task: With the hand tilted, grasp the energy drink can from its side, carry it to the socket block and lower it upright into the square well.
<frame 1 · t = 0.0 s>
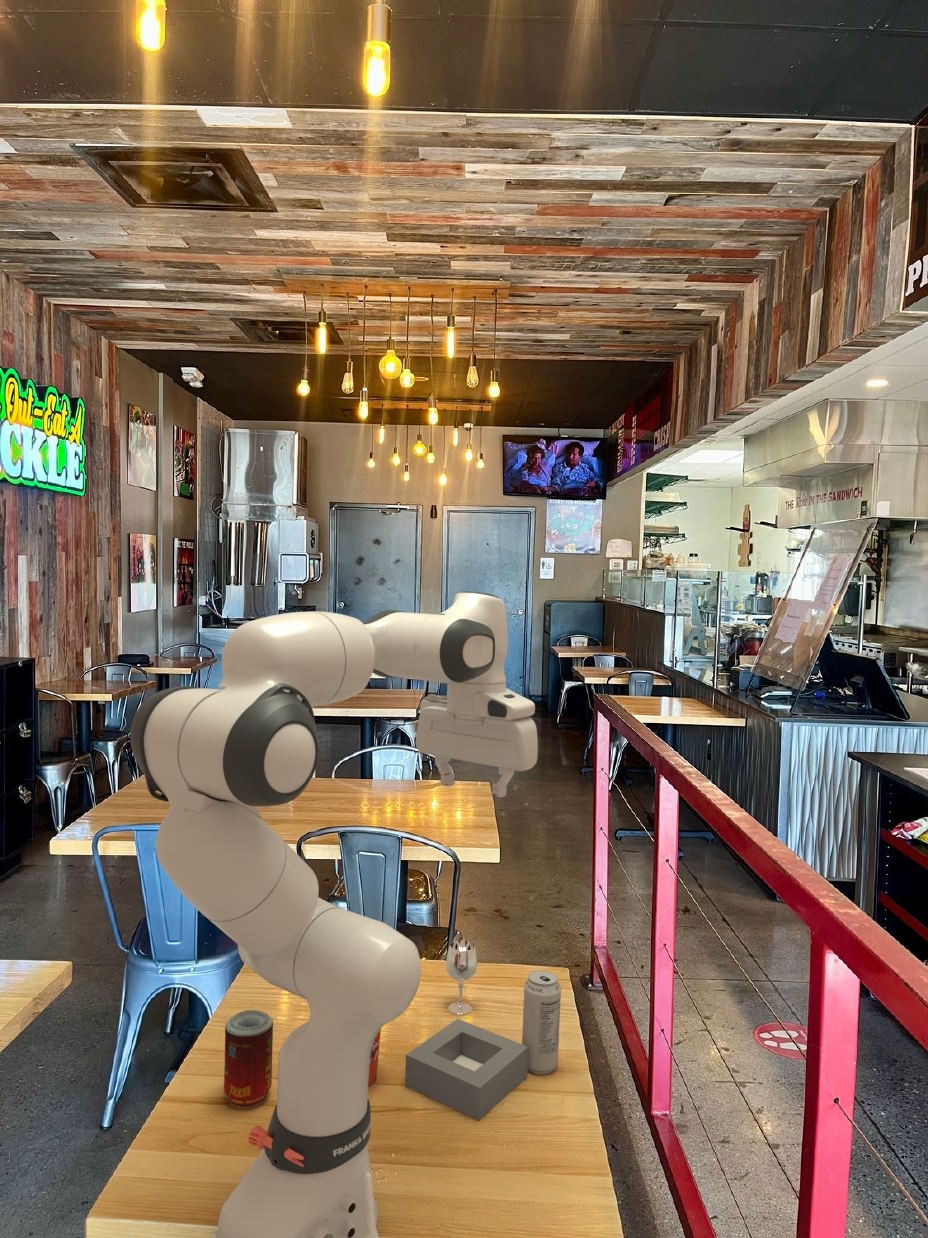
hand: (472, 790, 127), 48 cm above the table, tool pointing down, fingers open, 8 cm apart
energy drink can: (539, 1067, 139), on the table
socket block: (466, 1081, 134), on the table
paper cup: (358, 1079, 134), on the table
soda can: (247, 1098, 128), on the table
wineglass: (460, 1009, 157), on the table
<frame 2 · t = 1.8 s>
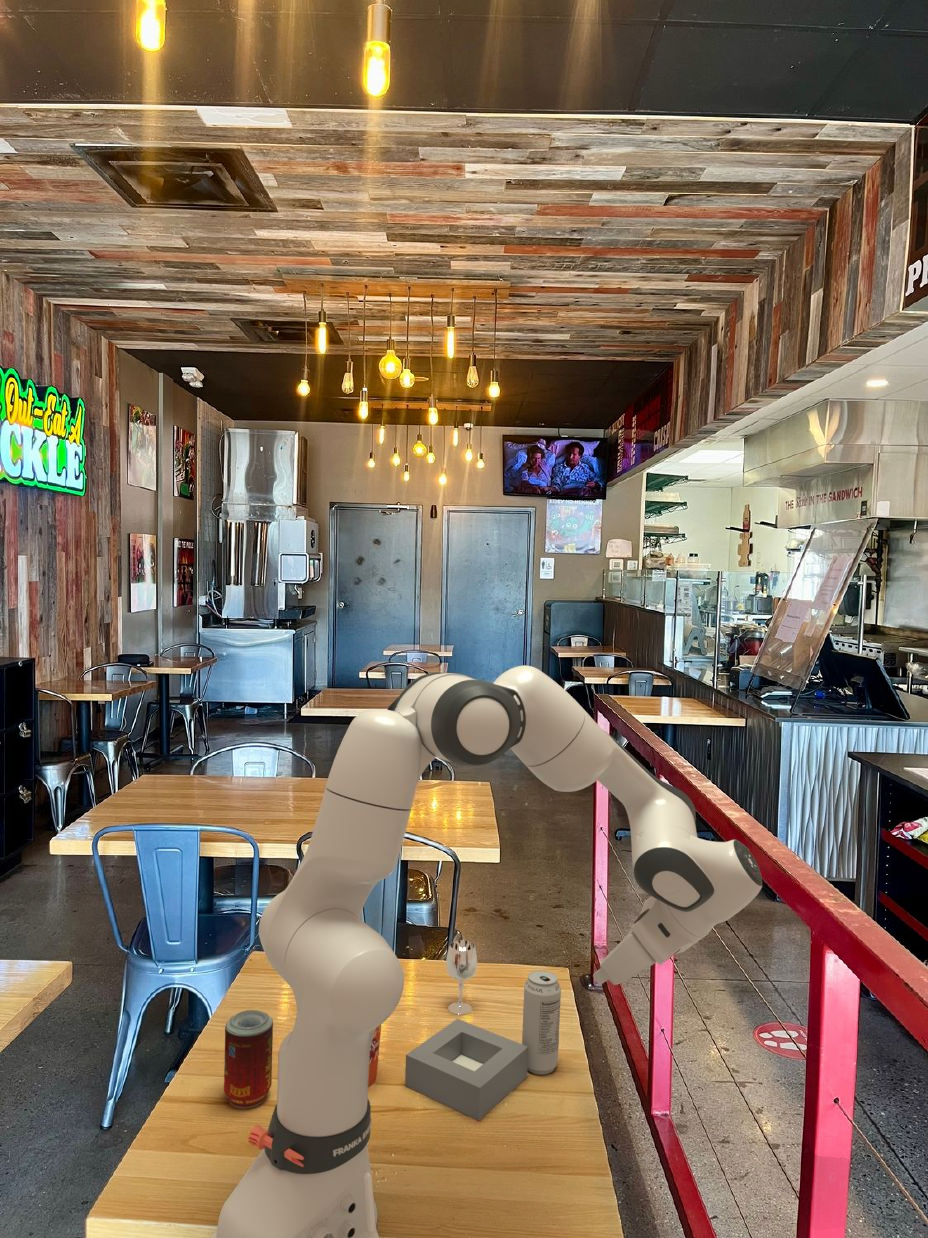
hand: (609, 966, 132), 20 cm above the table, tool tilted 45°, fingers open, 8 cm apart
nothing on the table moved.
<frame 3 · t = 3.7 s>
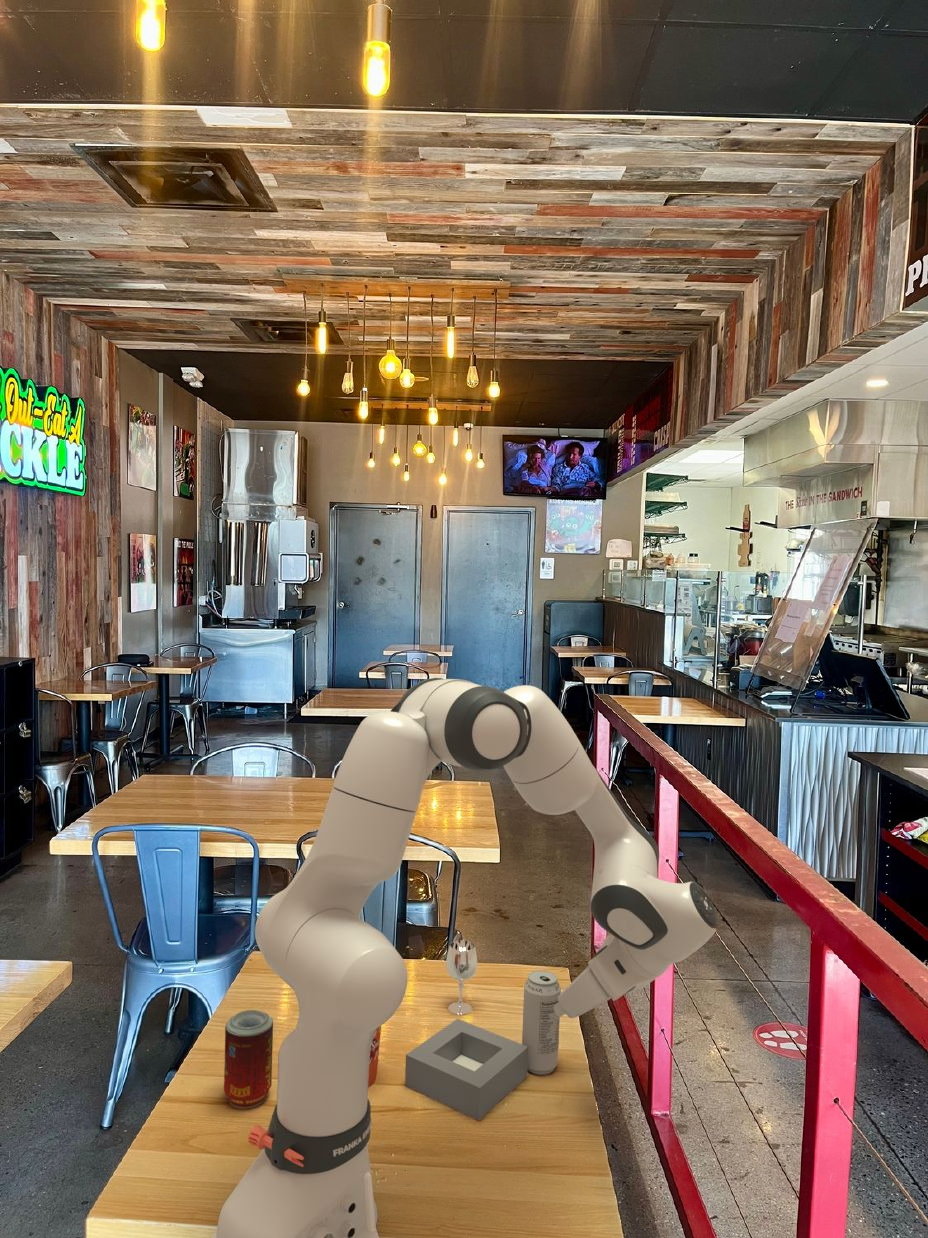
hand: (571, 999, 135), 13 cm above the table, tool tilted 45°, fingers open, 8 cm apart
nothing on the table moved.
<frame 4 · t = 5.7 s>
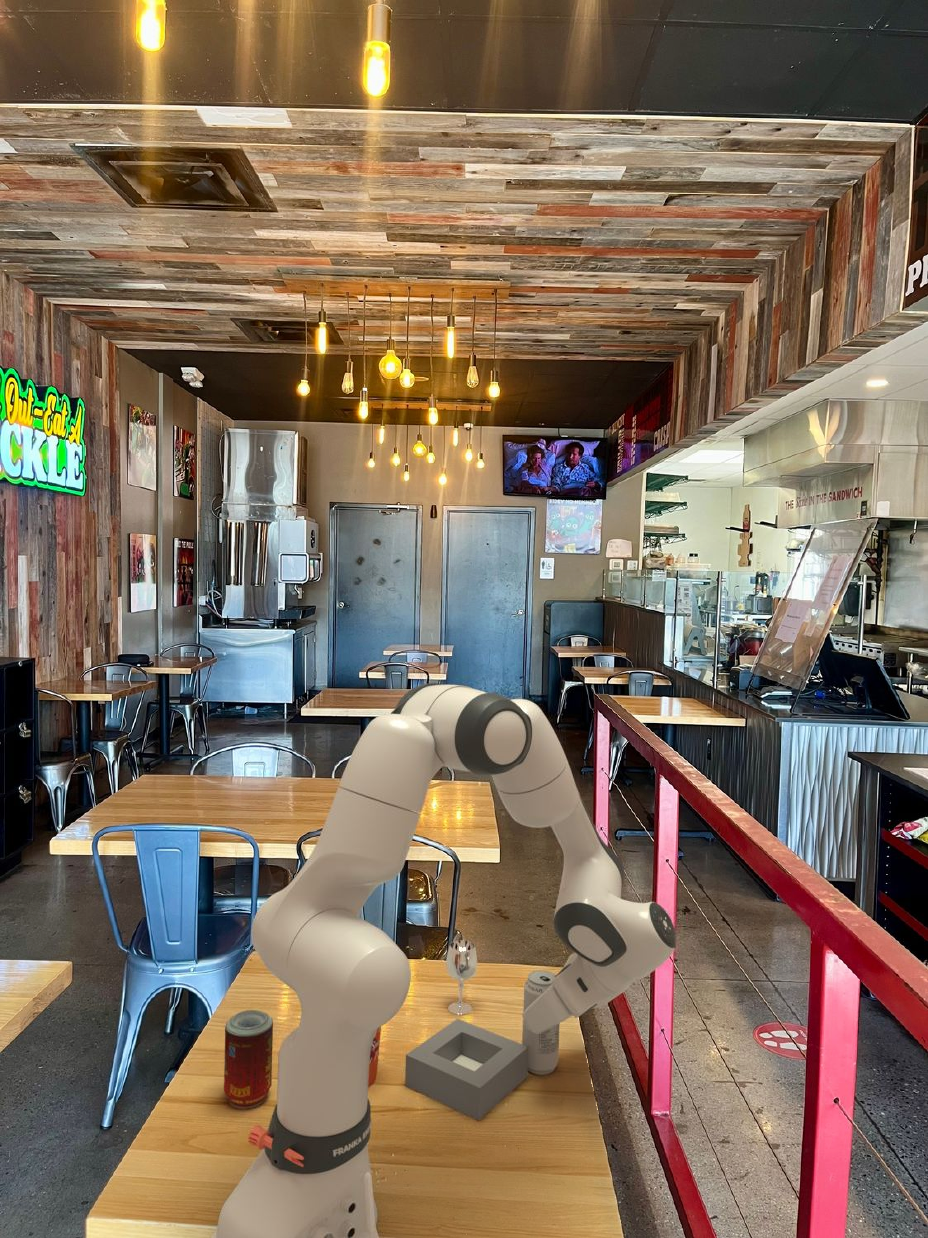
hand: (538, 1015, 139), 8 cm above the table, tool tilted 45°, fingers closed on energy drink can, 6 cm apart
energy drink can: (539, 1067, 139), on the table, touching gripper
everything else where it was.
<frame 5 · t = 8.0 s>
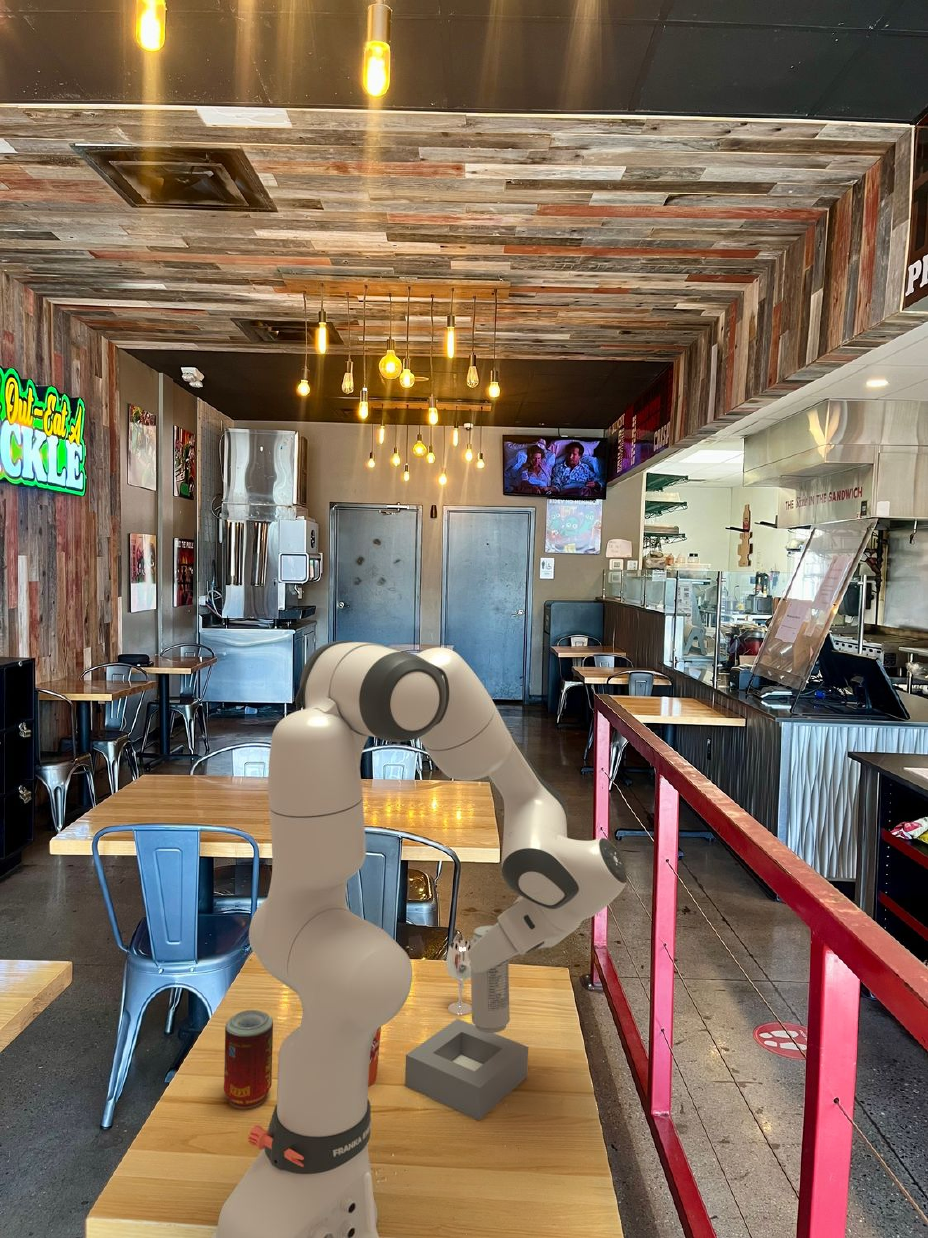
hand: (486, 959, 135), 19 cm above the table, tool tilted 45°, fingers closed on energy drink can, 6 cm apart
energy drink can: (490, 1027, 134), point 9 cm above the table, touching gripper
everything else where it was.
when the fingers open (11 cm above the table, at t = 10.6 s): energy drink can stays where it is, resting on socket block.
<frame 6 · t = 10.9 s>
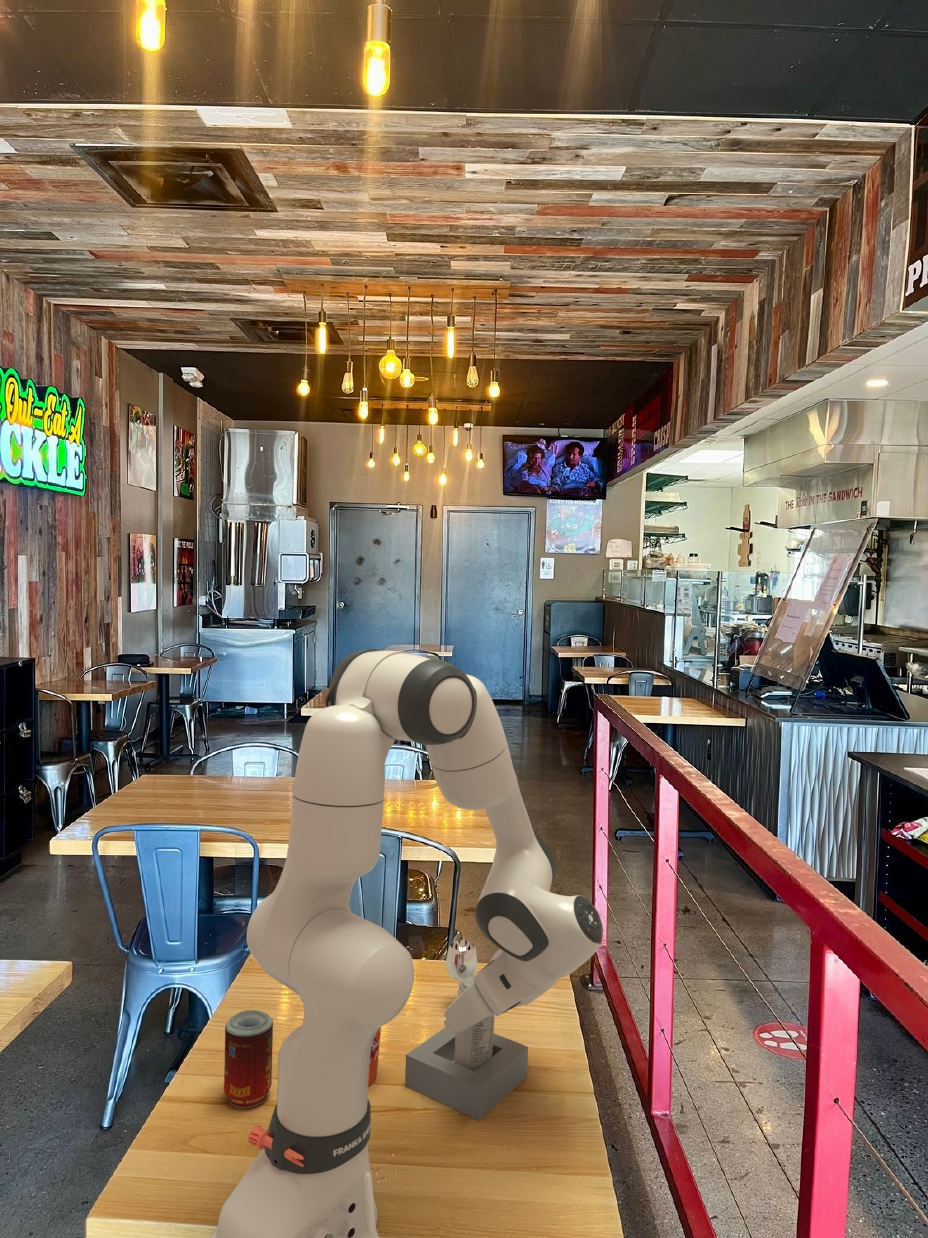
hand: (465, 1013, 134), 11 cm above the table, tool tilted 45°, fingers open, 8 cm apart
energy drink can: (472, 1076, 134), point 1 cm above the table, touching socket block
everything else where it was.
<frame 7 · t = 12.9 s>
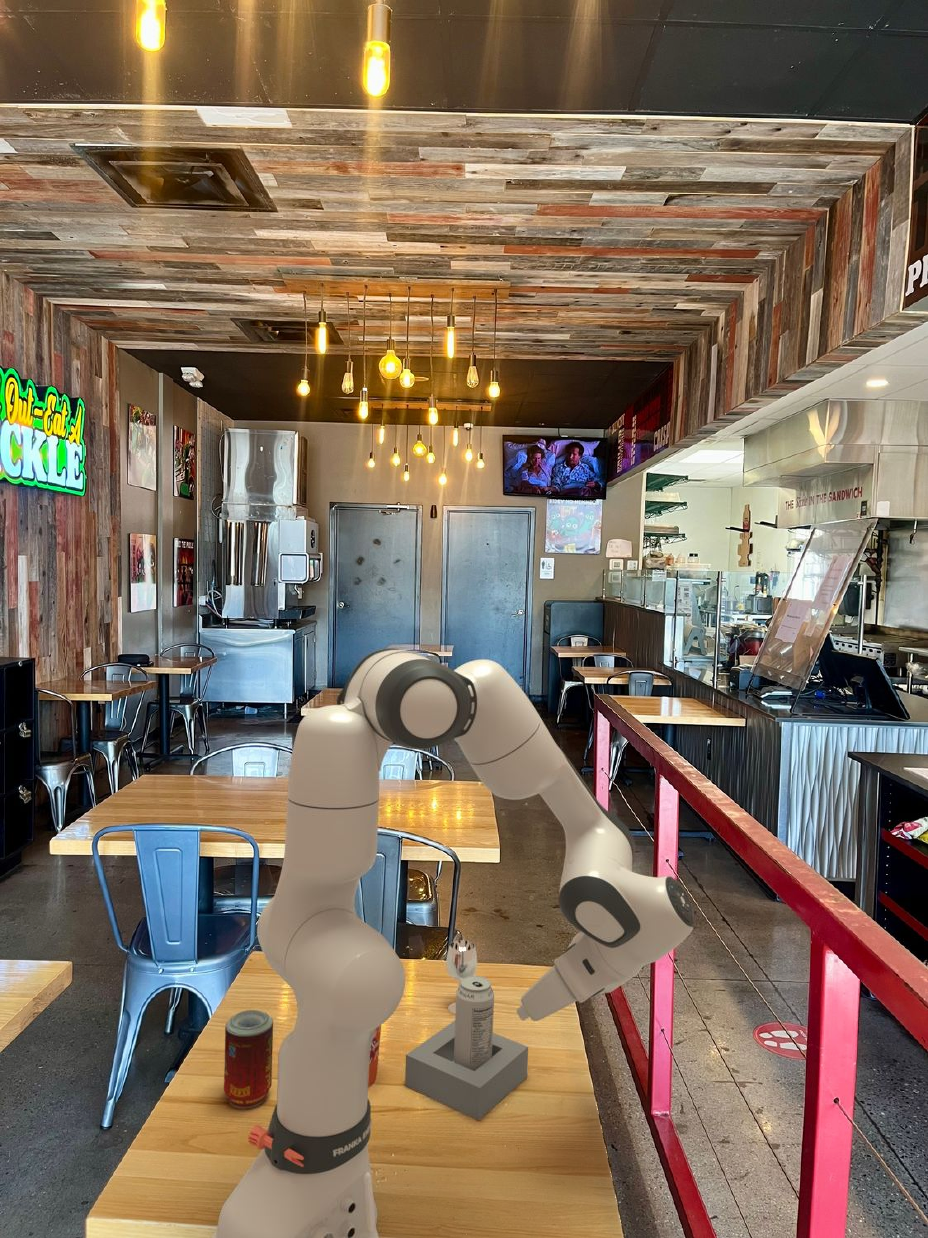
hand: (537, 1002, 126), 17 cm above the table, tool tilted 45°, fingers open, 8 cm apart
nothing on the table moved.
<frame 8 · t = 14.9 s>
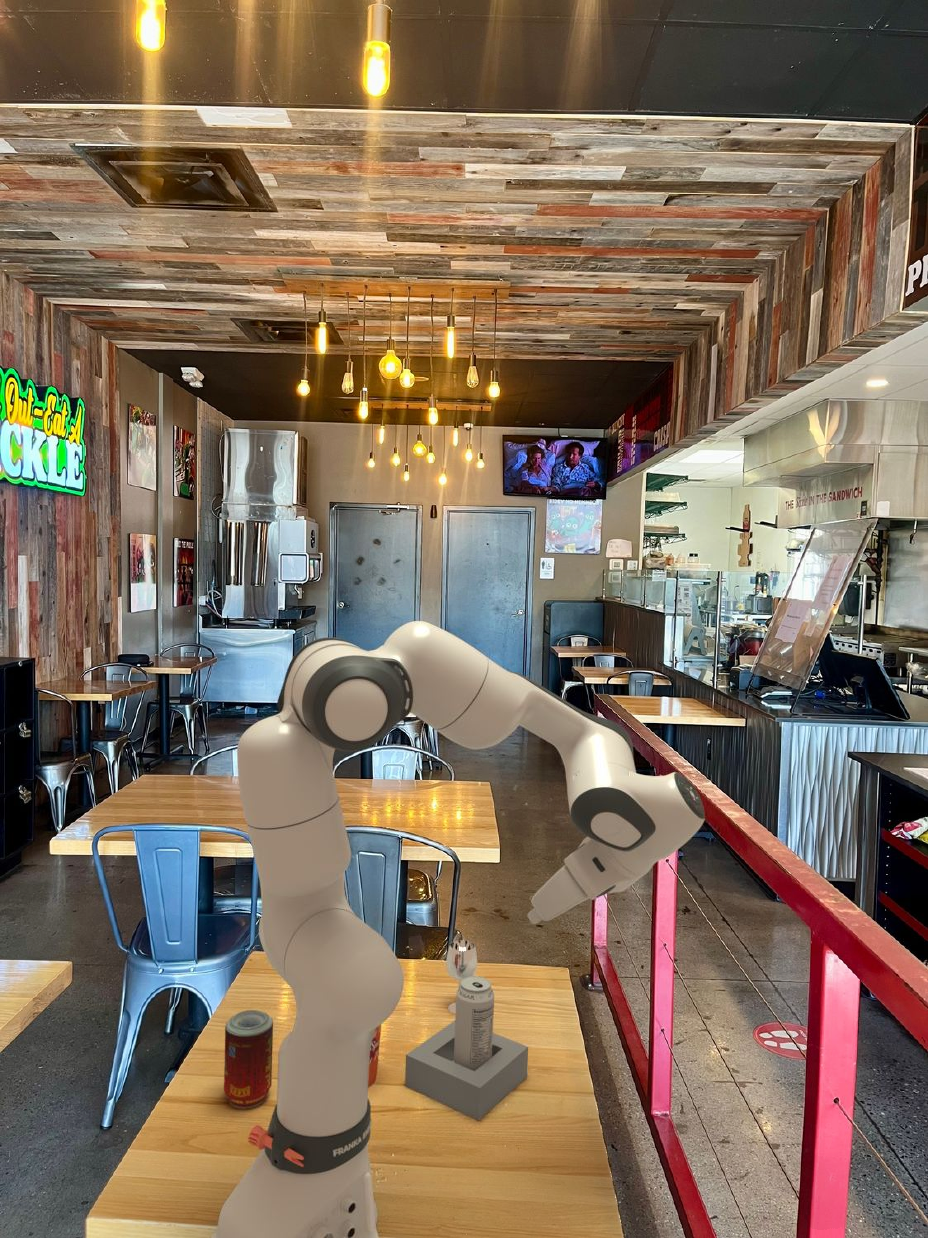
hand: (548, 909, 125), 31 cm above the table, tool tilted 45°, fingers open, 8 cm apart
nothing on the table moved.
at the end: energy drink can 0.9 cm off-centre on the socket block, point 1.0 cm above the socket block's base; energy drink can tilted 0°; the gripper is holding nothing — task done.
